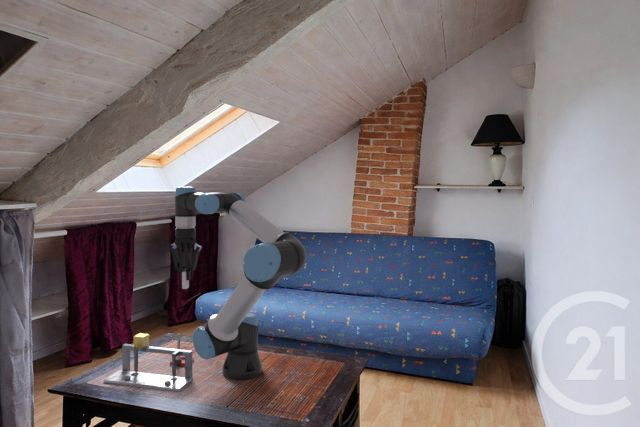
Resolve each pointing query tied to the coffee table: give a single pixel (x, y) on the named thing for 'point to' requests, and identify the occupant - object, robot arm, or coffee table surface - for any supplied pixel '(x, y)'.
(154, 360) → the coffee table surface
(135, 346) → the slider block
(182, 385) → the flange plate
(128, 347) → the dividers beam
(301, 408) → the coffee table surface
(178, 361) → the tow hook
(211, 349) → the robot arm
